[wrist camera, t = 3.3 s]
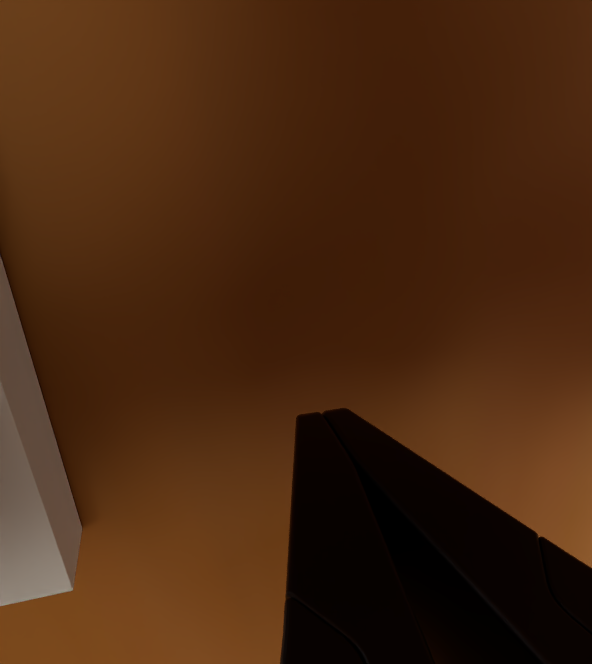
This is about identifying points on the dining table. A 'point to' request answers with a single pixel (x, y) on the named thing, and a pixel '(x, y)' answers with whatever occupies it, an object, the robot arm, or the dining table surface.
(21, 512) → the deck
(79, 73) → the dining table surface
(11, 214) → the dining table surface
